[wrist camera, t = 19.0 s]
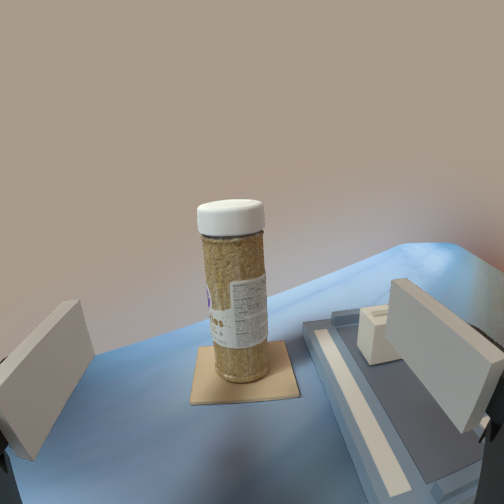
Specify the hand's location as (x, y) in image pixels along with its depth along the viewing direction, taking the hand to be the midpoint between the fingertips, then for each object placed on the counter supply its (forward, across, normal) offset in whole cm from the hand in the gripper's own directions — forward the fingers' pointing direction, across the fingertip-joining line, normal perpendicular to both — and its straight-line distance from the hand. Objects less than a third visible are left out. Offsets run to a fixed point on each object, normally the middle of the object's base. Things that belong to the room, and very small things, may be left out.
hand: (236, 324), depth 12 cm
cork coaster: (+10, 0, -10) cm, 15 cm away
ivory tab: (+8, +11, -8) cm, 16 cm away
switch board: (+4, +11, -10) cm, 16 cm away
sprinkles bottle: (+10, 0, -10) cm, 14 cm away
